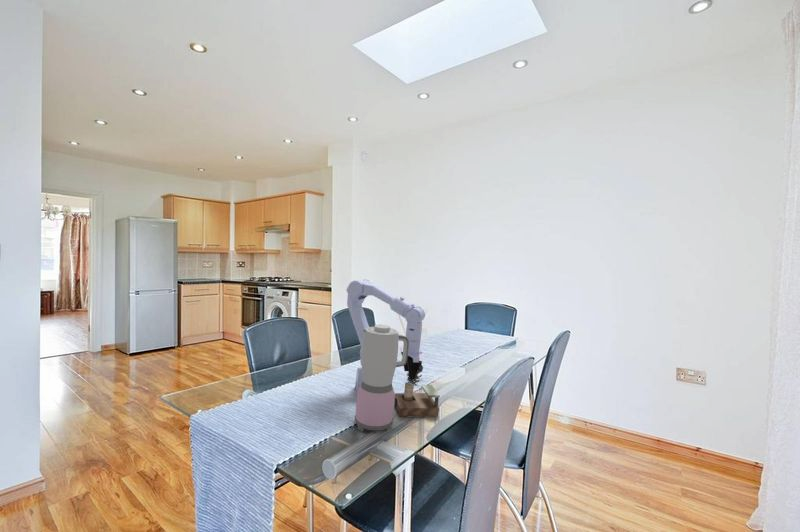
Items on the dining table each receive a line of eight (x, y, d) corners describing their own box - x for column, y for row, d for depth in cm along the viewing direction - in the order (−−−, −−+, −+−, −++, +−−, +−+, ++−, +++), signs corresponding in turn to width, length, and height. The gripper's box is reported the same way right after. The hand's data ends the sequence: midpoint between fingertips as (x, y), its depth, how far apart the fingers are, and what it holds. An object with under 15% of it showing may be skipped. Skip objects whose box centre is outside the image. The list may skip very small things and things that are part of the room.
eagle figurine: (426, 382, 150) (426, 371, 159) (418, 369, 149) (419, 358, 157) (410, 389, 151) (411, 378, 160) (402, 376, 150) (404, 365, 159)
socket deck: (399, 416, 120) (401, 396, 119) (392, 401, 132) (393, 382, 131) (438, 416, 123) (440, 396, 123) (427, 400, 135) (429, 382, 134)
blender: (357, 435, 106) (366, 330, 104) (351, 415, 118) (359, 321, 116) (406, 431, 111) (416, 331, 109) (396, 413, 122) (404, 322, 120)
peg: (412, 408, 127) (414, 386, 127) (403, 407, 127) (405, 386, 127) (411, 404, 131) (413, 383, 130) (402, 403, 130) (404, 382, 130)
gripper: (428, 345, 126) (424, 382, 127) (418, 334, 140) (414, 368, 141) (409, 344, 125) (405, 382, 125) (401, 334, 139) (397, 367, 140)
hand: (409, 374), depth 133 cm, fingers open, 7 cm apart
